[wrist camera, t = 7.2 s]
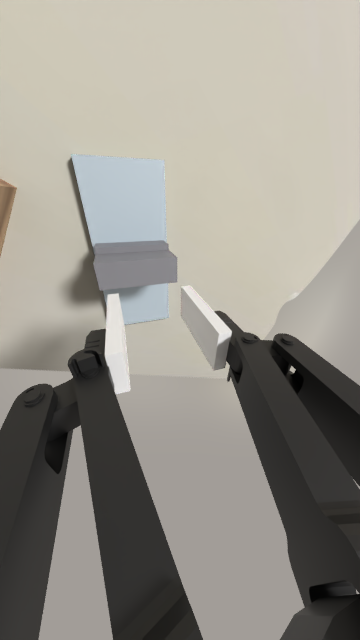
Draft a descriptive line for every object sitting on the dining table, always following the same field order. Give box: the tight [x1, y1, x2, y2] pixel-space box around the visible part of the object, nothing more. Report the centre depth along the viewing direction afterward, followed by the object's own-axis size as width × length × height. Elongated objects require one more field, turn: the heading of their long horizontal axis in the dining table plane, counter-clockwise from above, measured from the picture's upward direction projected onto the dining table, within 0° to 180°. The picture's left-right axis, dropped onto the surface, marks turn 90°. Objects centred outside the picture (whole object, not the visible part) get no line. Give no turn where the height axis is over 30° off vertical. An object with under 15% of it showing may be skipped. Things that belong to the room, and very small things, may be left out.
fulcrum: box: [71, 154, 177, 325], centre depth 24 cm, size 10×22×8 cm, turn 0°
